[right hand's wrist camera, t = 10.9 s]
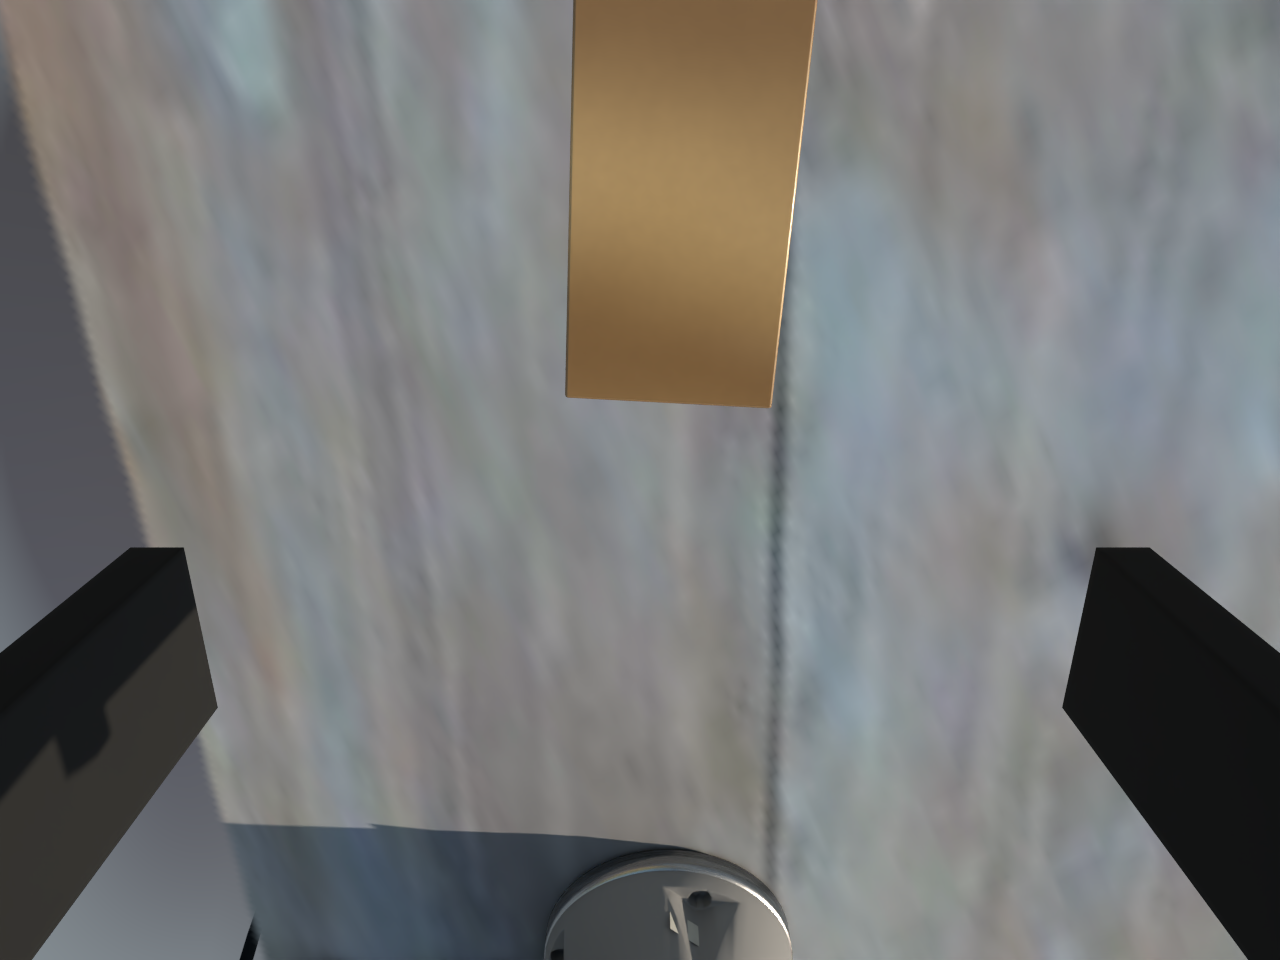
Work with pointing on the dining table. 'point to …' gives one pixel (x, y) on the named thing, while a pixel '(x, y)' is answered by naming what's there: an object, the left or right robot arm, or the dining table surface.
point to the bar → (682, 195)
